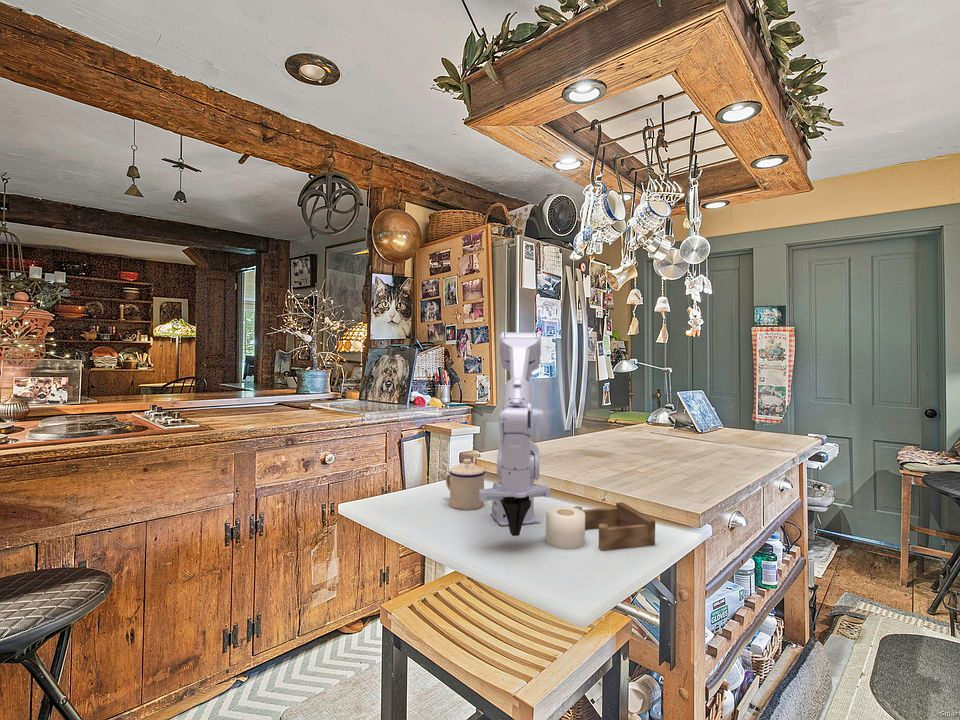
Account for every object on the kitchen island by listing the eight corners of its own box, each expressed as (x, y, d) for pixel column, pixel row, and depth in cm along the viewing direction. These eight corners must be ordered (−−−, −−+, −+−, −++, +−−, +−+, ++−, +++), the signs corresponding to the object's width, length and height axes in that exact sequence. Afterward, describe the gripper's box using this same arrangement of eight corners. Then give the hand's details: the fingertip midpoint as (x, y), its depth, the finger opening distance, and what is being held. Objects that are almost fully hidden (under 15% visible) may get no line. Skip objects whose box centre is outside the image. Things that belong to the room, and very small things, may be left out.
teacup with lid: (492, 504, 124) (492, 459, 124) (467, 513, 118) (468, 465, 117) (458, 495, 132) (459, 452, 132) (433, 502, 126) (434, 457, 126)
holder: (601, 551, 96) (601, 526, 96) (572, 528, 108) (572, 505, 108) (655, 545, 99) (656, 521, 99) (621, 523, 112) (621, 501, 112)
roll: (555, 551, 96) (556, 520, 96) (539, 535, 104) (539, 507, 103) (591, 547, 98) (592, 517, 98) (573, 532, 106) (574, 504, 106)
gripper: (486, 473, 92) (485, 545, 92) (557, 469, 96) (556, 538, 96) (476, 465, 99) (476, 531, 99) (543, 461, 103) (542, 526, 103)
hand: (514, 534), depth 98 cm, fingers closed
